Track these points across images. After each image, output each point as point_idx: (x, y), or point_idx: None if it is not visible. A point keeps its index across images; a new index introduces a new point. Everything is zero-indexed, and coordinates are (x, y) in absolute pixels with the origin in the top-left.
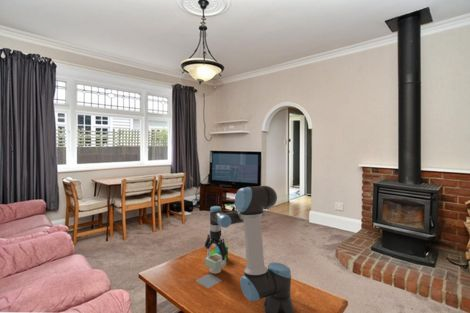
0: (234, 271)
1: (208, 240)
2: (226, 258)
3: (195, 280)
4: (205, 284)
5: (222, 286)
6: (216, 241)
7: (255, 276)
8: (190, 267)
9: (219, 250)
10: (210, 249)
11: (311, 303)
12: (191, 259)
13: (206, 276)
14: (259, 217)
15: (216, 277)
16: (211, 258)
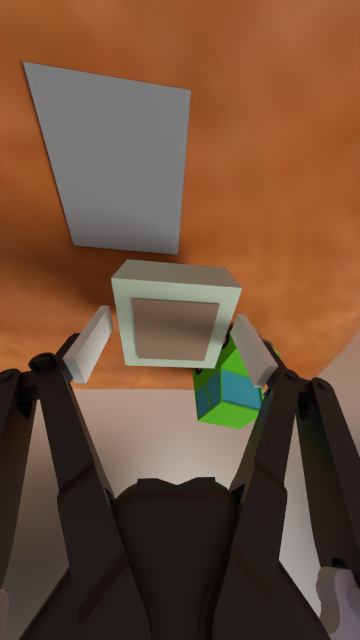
0: (114, 333)
1: (328, 484)
2: (196, 370)
3: (189, 93)
4: (88, 108)
5: (17, 195)
6: (80, 614)
7: None
8: (315, 231)
9: (221, 390)
10: (249, 374)
11: None
12: (341, 295)
13: (167, 213)
14: None
15: (118, 246)
16: (188, 310)
